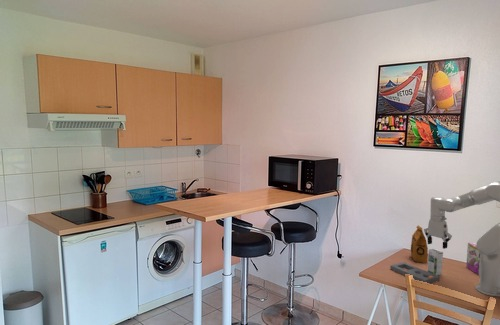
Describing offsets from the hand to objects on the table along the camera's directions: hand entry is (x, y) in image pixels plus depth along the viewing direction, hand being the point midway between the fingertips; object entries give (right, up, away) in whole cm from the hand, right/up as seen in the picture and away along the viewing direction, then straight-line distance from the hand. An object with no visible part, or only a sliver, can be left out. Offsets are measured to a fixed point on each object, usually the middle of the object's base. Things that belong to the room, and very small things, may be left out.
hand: (437, 246), depth 202 cm
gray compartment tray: (-14, -17, 0) cm, 22 cm away
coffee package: (+1, -15, +24) cm, 29 cm away
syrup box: (0, -17, +2) cm, 18 cm away
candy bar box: (+27, -17, +5) cm, 32 cm away
